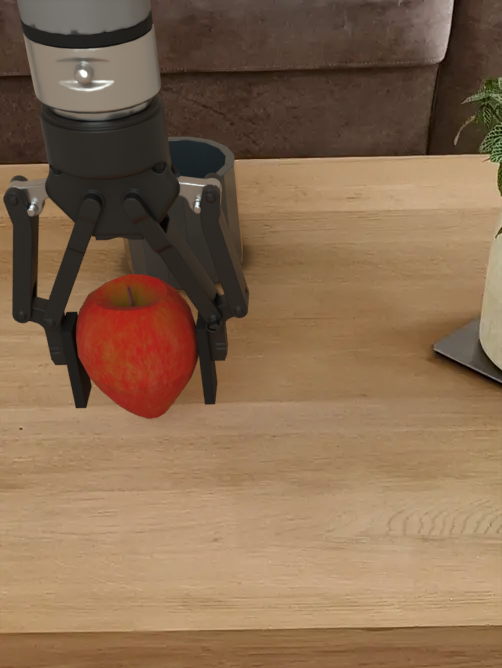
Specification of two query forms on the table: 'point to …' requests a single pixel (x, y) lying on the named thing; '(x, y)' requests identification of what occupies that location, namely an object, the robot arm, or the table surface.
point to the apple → (138, 343)
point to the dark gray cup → (194, 162)
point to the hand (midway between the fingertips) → (147, 395)
